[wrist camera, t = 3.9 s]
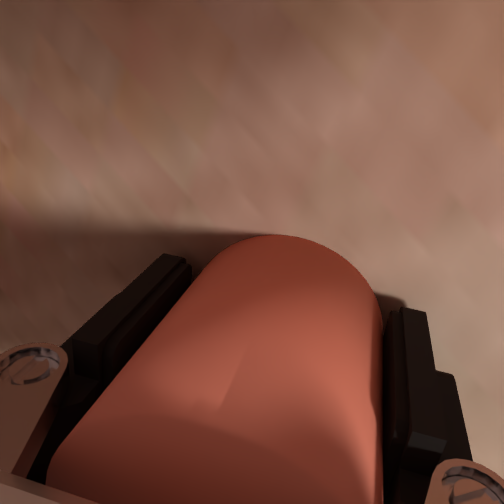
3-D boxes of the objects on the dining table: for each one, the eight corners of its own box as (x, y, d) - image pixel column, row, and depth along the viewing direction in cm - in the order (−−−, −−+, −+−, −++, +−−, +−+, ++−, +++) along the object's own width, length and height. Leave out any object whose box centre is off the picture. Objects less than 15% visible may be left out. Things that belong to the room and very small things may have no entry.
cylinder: (197, 216, 11) (28, 370, 6) (405, 259, 10) (431, 489, 5) (188, 374, 13) (59, 590, 8) (359, 421, 12) (341, 702, 7)
